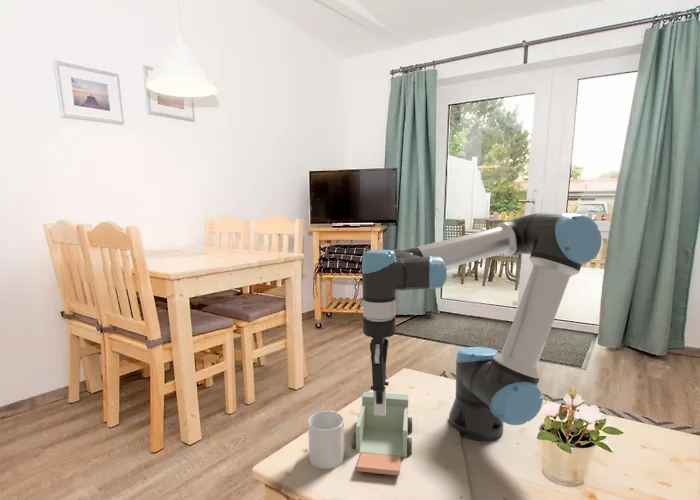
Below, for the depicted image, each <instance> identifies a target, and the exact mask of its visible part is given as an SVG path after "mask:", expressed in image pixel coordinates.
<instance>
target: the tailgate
mask: <svg viewBox="0 0 700 500" xmlns="http://www.w3.org/2000/svg"><path fill="white" fill-rule="evenodd" d="M359 453H360V454H359V455H360V456H359V459H358V461H357V465H356V472H362V473H363V472H364V473H371V474H378V475H379V474H380V475H390V476H391V475H392V476H400V470H401V460H402V457H403V456H397V455H387V454H376V453H366V452H359Z"/></svg>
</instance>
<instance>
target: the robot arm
mask: <svg viewBox="0 0 700 500" xmlns="http://www.w3.org/2000/svg"><path fill="white" fill-rule="evenodd" d="M601 246H602V235H601V231H600V230H599V226H598V225H597V223H596V222H595V221H594V220H593V219H592V218H591V217H590V216H588V215H585V214H580V213H573V212H562V213H561V212H560V213H559V212H537V213H536V212H535V213H530V214H527V215H524V216H521V217H517V218H513V219H510V220H506V221H503V222H499V223H498V224H497V225H496V227H492V228H489V229H485V230H481V231H477V232H473V233H472V232H471V233H469V234H465V235H461V236H455V237H453V238H448V239H444V240H441V241H436V242H431V243H429V244H424V245H419V246H416V247H411V248H408V249H393V250H392V249H370V250H366V251H364V253H363V254H362V260H361V261H362V263H361V278H362V279H361V281H362V282H361V283H362V302H360V304H359V306H360V307H362V316H363V318H362V333H363V334H364V336H366V337H369V338H371V339H370V341H371V342H370V343H369V351H370V361H371V374H372V375H371V377H372V385H371V386H370V391H372V392H374V415H378V416H385V415H386V389H387V386H389V383H390V382H389V381H386V379H387V358H388V347H389V339H387V338H391V337H393V336H394V335H395V334H396V318H395V317H396V315H397V314H396V313H397V312H396V311H397V307H396V306H397V305H396V299H397V298H396V293H397V292H396V291H399V292H400V291H417V290H433V289H439V288H442V287H444V285H445V283H446V282H447V275H448V274H447V273H448V271H447V269H449V268H452V267H457V266H461V265H464V264H468V263H472V262H476V261H480V260H485V259H488V258H492V257H495V256H500V255H504V256H508V257H510V256H514V255H521V254H522V255H523V254H524V255H530V256H529V259H530V262H531V264H532V268H531V272H530V275H529V276H528V277H529V278H528V280H527V283H526V285H525V288H524V290H523V294H522V295H521V299H520V302H519V305H518V307H517V310H516V312H515V314H514V318H513V320H512V324H511V326H510V329H509V332H508V334H507V337H506V340H505V341H504V342H505V343H504V345H503V347H502V351H501V352H500V353H499V351H498V350H496V349H494V348H490V347H484V346H468V347H463V348H460V349H459V350H458V351H457V353H456V358H455V398H454V401H453V403H452V406H451V409H450V411H449V415H448V421H449V423H450V425H451V427H452V428H453V429H454V430H455V431H458V435H460V436H462V437H464V438H467V439H469V440H470V439H471V440H474V441H492V440H496V439H498V438H500V437H502V435H503V434H504V433H503V432H504V423H505V424H506V425H510V426H522V425H524V424H526V423H527V422H531V421H532V420H534V418H535V417H537V416H538V414H539V412H540V411H541V409H542V407H543V396H542V392H541V390H540V389H539V387H538V385H539V381H540V380H541V375H540V373H539V371H538V368H537V366H538V364H539V362H540V359H541V356H542V353H543V351H544V348H545V345H546V342H547V339H548V337H549V334H550V331H551V329H552V326H553V323H554V321H555V318H556V316H557V313H558V311H559V307H560V304H561V302H562V300H563V297H564V295H565V291H566V289H567V286H568V283H569V280H570V278H571V277H573V276H575V275H578V274H579V273H580V270H581V269H582V268H581V267H582V266H583V264H587V263H589V262H591V261H592V260H594V259H595V258H596V257H597V256H598V254H599V253H600V250H601Z"/></svg>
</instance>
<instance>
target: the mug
mask: <svg viewBox="0 0 700 500" xmlns="http://www.w3.org/2000/svg"><path fill="white" fill-rule="evenodd" d="M307 425H308V427H307V428H308V459H309V462H310V463H309V464H310V465H312V466H313V467H314V468H317V469H320V470H330V469H331V470H332V469H335V468H337V467H338V466H341V464H342V463H343V462H344V459H345V419H344V417H343V416H342V415H341V413H338V412H337V411H335V410H322V411H318V412H316V413H313V414H312V415H311V416H310V417H309V418H308V423H307Z"/></svg>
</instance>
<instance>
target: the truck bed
mask: <svg viewBox="0 0 700 500" xmlns="http://www.w3.org/2000/svg"><path fill="white" fill-rule="evenodd" d="M361 398H362V399H361V401H362V403H361V407H360V410H359V413H358V415H357V421H356V425H355V432H353V434H352V441H351V447H352V449H355V452H356V453H361V452H366V453H376V454H387V455H397V456H402V457H404V458H406V457H407V456H408V455H412V453H413V452H412V451H413V450H412V449H413V446H412V445H413V444H412V443H413V437H408V434H409V433H413V417H410V416H409V394H402V393H401V394H399V393H386V415H385V416H378V415H374V391H372V392H371V391H363V393H362V395H361Z"/></svg>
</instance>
